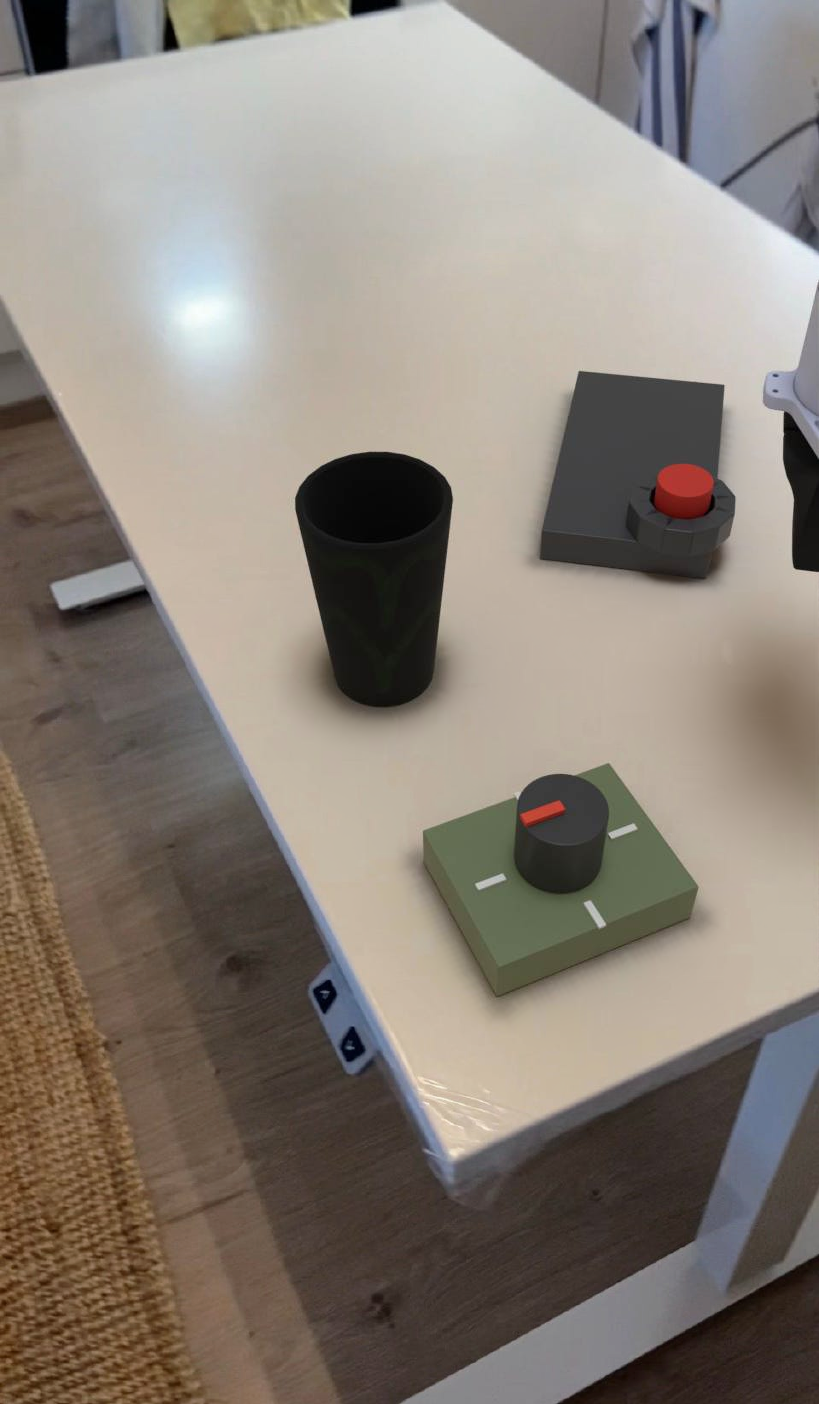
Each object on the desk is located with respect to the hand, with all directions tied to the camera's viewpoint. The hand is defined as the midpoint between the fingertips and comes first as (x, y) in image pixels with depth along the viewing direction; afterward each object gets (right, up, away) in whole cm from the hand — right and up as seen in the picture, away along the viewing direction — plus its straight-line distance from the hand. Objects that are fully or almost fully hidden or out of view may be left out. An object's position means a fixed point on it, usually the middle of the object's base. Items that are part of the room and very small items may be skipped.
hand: (815, 562), depth 56 cm
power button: (-3, +5, +14) cm, 15 cm away
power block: (-4, +8, +22) cm, 24 cm away
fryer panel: (-12, -15, 0) cm, 20 cm away
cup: (-21, -5, +11) cm, 24 cm away
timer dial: (-12, -14, -2) cm, 18 cm away
